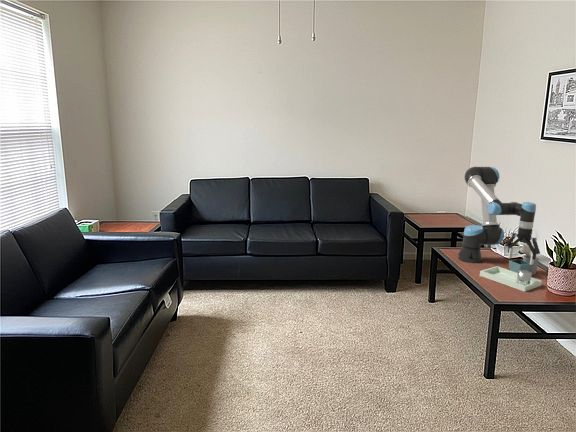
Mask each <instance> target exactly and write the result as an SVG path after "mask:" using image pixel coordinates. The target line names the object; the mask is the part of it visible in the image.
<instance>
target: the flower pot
mask: <svg viewBox="0 0 576 432" xmlns="http://www.w3.org/2000/svg"><path fill="white" fill-rule="evenodd" d="M508 266H509V267H508V268H509V269H508V270H510V271H513V272H516V273H518V271H519V270H526V271H528V270H529V267H530V263H528V262H526V261H523V259H520V258H519V259H517V258H516V259H510V260H508Z"/></svg>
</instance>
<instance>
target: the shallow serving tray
mask: <svg viewBox="0 0 576 432" xmlns="http://www.w3.org/2000/svg"><path fill="white" fill-rule="evenodd" d="M517 275H518V273H516V272H513V271H510V269H507V268H505V267H504V268H503V267H501V266H493V267H490V268H486V269H482V270H479V278H485V279H488V280H490V281H493V282H494V281H495V282H497V283H499V284H502V285H505V286H508V287H511V288H512V289H513V288H514V289H516V290H519V291H522V292H527V291H530V290H534V289H536V288H538V287H541V286H542V283H543V281H542V280H540V279H538V278H535V277H532V276H531V281H530V284H528V285H525V286H524V285H521V284H518V283H516V281H517Z"/></svg>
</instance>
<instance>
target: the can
mask: <svg viewBox="0 0 576 432" xmlns="http://www.w3.org/2000/svg"><path fill="white" fill-rule="evenodd" d="M532 275H533V274H532V273H531V272H529V271H526V270H519V271H518V275H517V281H516V283H518V284H521V285H524V286H525V285H528V284H530V281H531V277H532Z"/></svg>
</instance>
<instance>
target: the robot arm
mask: <svg viewBox="0 0 576 432" xmlns="http://www.w3.org/2000/svg"><path fill="white" fill-rule="evenodd" d="M499 180H500V172H499V170H498V169H497V168H496V167H494V166H473V167H469V168H468V169H467V170H466V171H465V173H464V182H465V183H466V184H467V186H468V187H470V188H472V189H473V190H474V192H475V193H476V194H477V195H478V196H479V197H480V199H481V201H480V202H481V210H482V211H481V212H482V213H481V214H482V223H481V225H478V224H477V225H476V224H470V225H467V226H465V227H464V231H463V238H462V245H461V248H460V251H459V252H458V254H457V258H458V260H460V261H462V262H466V263H472V264H478V263H481V262H482V260H483V257H482V252H481V249H482V248H481V247H482V246H483V245H484V246H489V245H492V246H495V245H500V244H501V243H502V241H504V239H505V238H504V237H505V231H504V229H503V228H502V227H500V224H499V222H498V221H497V216H518V217H520V218H519V223H518V230H517V233H516V232H514V233H512V234H511V236H510V238H509V239H508V241H507V243H506V244H505V247H507V249H508V250H507V253H508V257H507V258H508V259H512V258H513V252H514V251H513V250H514V248H513V247H514V246H515V245H516V244H518V243H523V244H526V245H527V246H528V248H529V249H530V251H531V254H530V255H531V259H530V265H531V264H533V262H534V259H536V257H537V255H540V254H541V252H540V249H539V245H538V242H537V237H532V235H533V228H534V223H535V222H534V221H535V216H536V211H537V204H536V203H534V202H529V201H526V202H525V201H523V202H522V203H519V202H517V201H510V202H502V201H501V200H500V199H499V198H498V197H497V196H496V194H495V188H496V186H497V184H498V183H499V182H500V181H499ZM515 238H517V239H516V240H515Z"/></svg>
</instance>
